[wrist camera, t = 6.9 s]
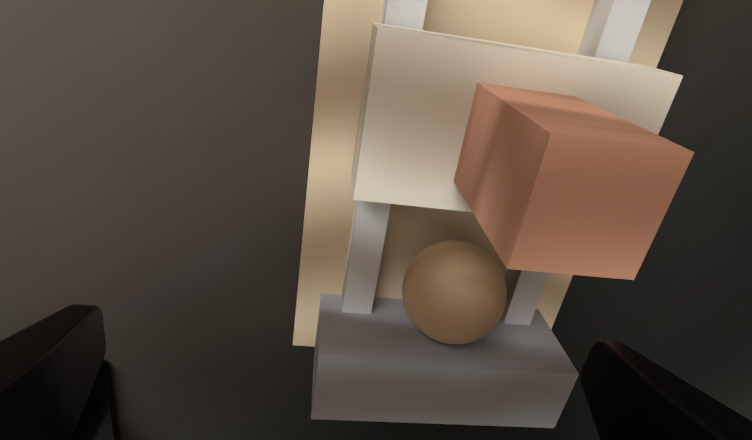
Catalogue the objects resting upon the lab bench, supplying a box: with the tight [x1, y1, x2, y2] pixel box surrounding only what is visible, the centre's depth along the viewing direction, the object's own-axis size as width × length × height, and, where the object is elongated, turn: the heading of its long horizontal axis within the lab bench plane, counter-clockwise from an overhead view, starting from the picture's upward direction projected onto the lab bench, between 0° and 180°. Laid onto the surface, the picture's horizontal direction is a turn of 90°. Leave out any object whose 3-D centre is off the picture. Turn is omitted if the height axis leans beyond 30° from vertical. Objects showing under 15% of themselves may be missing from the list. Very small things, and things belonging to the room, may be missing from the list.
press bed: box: [293, 0, 683, 428], centre depth 16 cm, size 22×12×6 cm, turn 171°
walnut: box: [402, 240, 507, 344], centre depth 18 cm, size 4×4×4 cm
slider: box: [351, 22, 694, 280], centre depth 13 cm, size 5×9×7 cm, turn 81°
